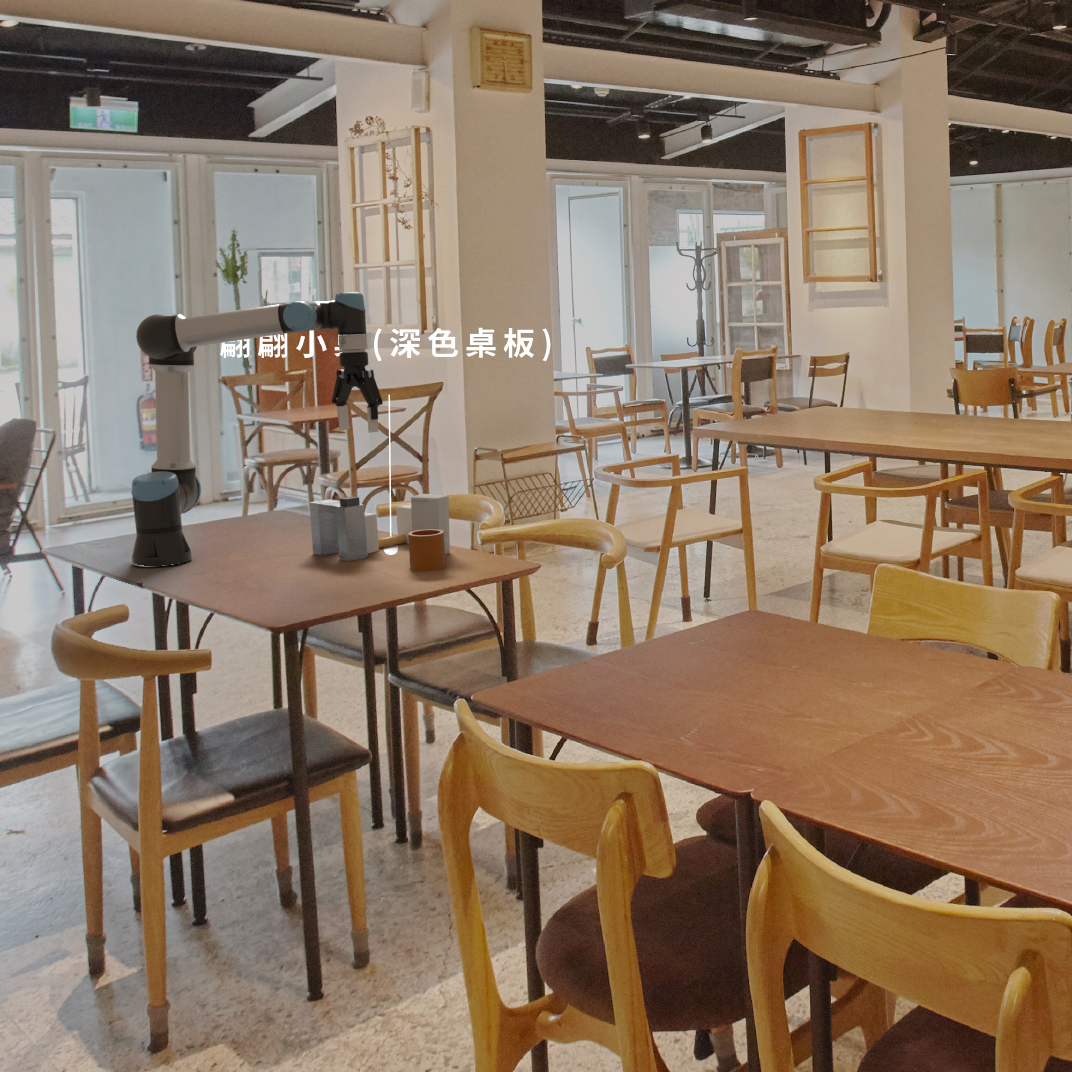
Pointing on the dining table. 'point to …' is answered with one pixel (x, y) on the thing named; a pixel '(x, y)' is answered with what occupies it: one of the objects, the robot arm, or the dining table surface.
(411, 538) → the mug
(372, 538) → the white block dumbbell
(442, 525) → the skincare box
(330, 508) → the gray notched block
